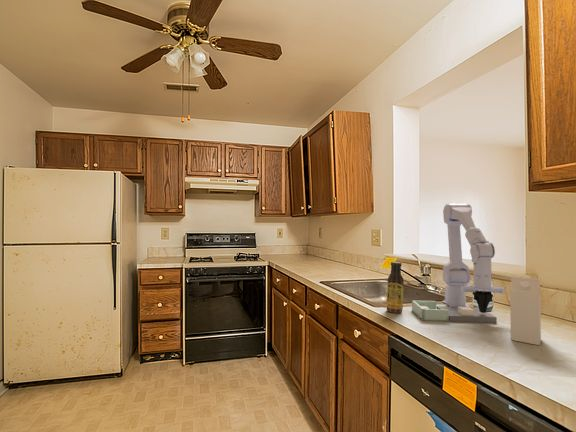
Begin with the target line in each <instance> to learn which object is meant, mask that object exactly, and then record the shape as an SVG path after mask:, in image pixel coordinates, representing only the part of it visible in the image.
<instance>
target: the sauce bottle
mask: <svg viewBox="0 0 576 432" xmlns="http://www.w3.org/2000/svg"><path fill="white" fill-rule="evenodd" d="M390 266H391V267H390V268H391V270H390V274H389V275H388V278H387V287H386V311H387V312H389V313H392V314H400V313H402V312H403V308H404V278H403V276H402V262H399V261H391V262H390Z"/></svg>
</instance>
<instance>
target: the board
mask: <svg viewBox="0 0 576 432" xmlns="http://www.w3.org/2000/svg"><path fill="white" fill-rule="evenodd" d="M436 308H437V309H442V310H449V321H448V322H453V323H454V322H455V323H456V322H457V323H459V322H460V323H485V324H486V323H490V324H495V323H497V317H496V316H495V315H493V314H492V313H490V312H487V311H486V313H482V312H480V311H479V307H478V306H477V307H476V306H475V307H474V306H470V308H471V309H473V310H474V315H462V314H460V313H459V312H458V307H451V306H449V305H446V306H445V305H436Z"/></svg>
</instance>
